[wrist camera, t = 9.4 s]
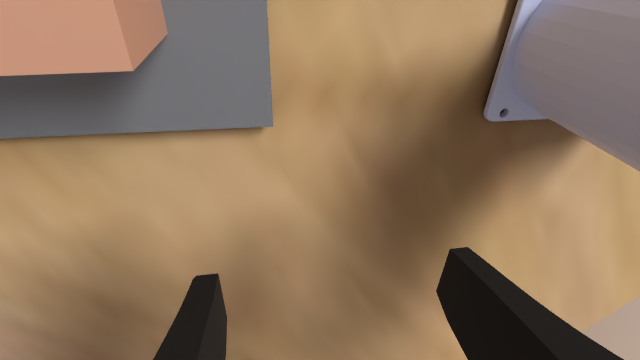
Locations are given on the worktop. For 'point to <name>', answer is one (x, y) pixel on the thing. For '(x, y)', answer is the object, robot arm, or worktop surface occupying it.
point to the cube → (77, 35)
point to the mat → (158, 81)
